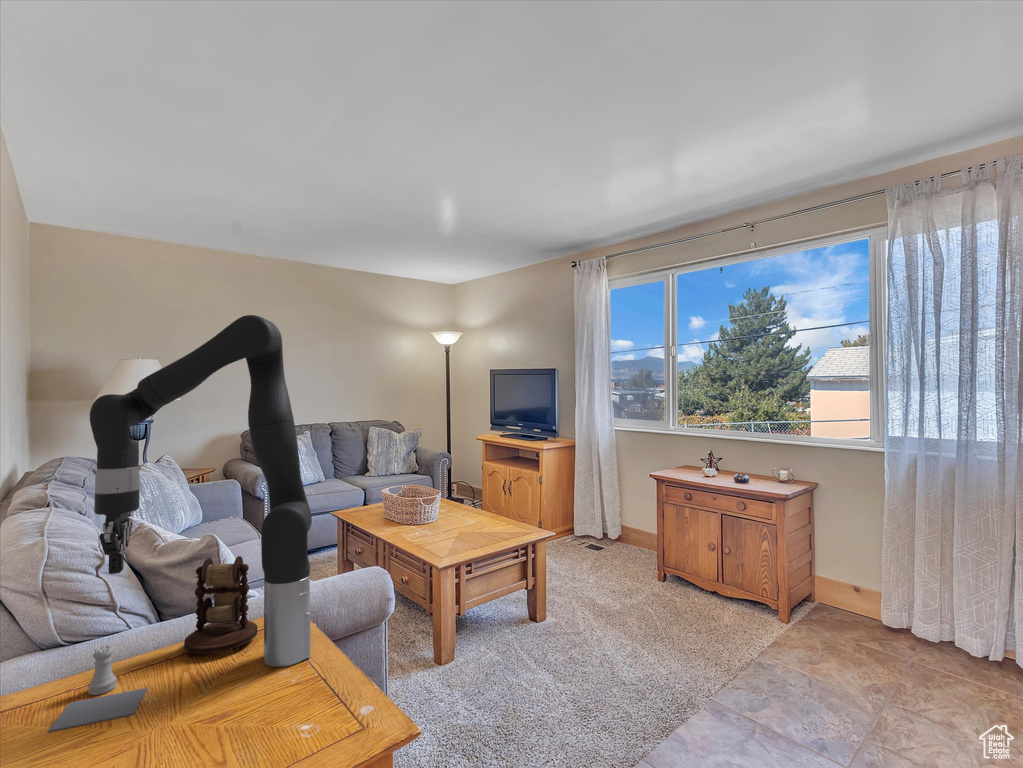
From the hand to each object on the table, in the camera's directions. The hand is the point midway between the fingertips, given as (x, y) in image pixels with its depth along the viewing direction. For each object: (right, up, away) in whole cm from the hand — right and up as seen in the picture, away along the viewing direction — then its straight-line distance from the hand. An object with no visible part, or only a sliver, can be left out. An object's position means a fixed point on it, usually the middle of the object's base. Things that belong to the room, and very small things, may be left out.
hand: (116, 572), depth 107 cm
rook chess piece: (+3, -21, -7) cm, 22 cm away
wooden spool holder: (+16, -21, +11) cm, 29 cm away
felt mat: (+8, -20, -14) cm, 26 cm away
